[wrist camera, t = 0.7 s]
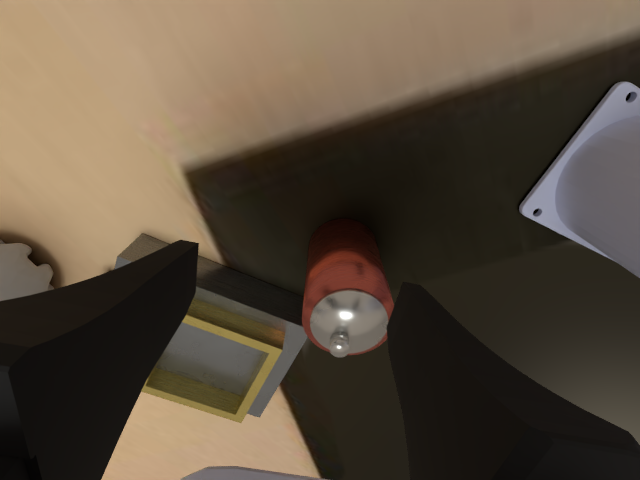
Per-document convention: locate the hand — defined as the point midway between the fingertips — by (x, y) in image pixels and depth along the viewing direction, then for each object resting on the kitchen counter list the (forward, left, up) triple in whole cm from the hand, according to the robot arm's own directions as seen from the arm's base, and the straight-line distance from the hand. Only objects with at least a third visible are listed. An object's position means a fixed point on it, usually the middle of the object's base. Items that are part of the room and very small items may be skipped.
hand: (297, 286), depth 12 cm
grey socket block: (+3, +12, -10) cm, 15 cm away
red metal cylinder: (-3, +3, -10) cm, 11 cm away
